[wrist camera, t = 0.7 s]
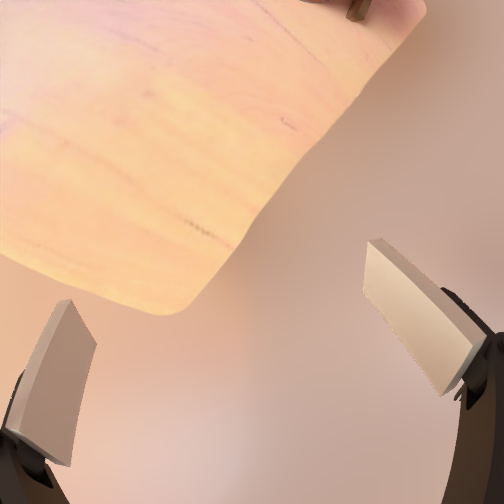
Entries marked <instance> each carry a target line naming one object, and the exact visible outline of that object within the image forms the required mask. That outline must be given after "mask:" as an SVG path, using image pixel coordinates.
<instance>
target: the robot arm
mask: <svg viewBox="0 0 504 504" xmlns="http://www.w3.org/2000/svg"><path fill="white" fill-rule="evenodd" d="M362 292H363V293H364V294H365V296H366V297H367V298H368V300H369V301H370V302H371V303H372V305H373V306H374V307H375V308H376V310H377V311H378V312H379V313H380V314H381V316H382V317H383V319H384V320H385V321H386V322H387V324H388V325H389V326H390V328H391V329H392V330H393V332H394V333H395V334H396V336H397V337H398V338H399V340H400V341H401V342H402V344H403V345H404V346H405V348H406V349H407V350H408V352H409V353H410V354H411V356H412V357H413V359H414V360H415V361H416V363H417V364H418V366H419V367H420V368H421V370H422V371H423V373H424V374H425V376H426V377H427V378H428V380H429V381H430V383H431V384H432V385H433V387H434V388H435V390H436V391H437V393H438V394H439V396H440V397H441V396H442V395H444V394H446V393H447V392H449V391H450V390H452V389H453V388H455V386H456V385H457V383H458V382H459V381H460V379H461V378H462V379H463V381H464V382H465V383H464V384H463V385H462V387H461V388H460V389H459V391H458V392H457V394H456V395H455V397H454V401H456V400H457V398H458V397H459V396H460V395H461V393H462V396H461V399H460V400H459V401H461V409H460V418H459V427H458V434H457V440H456V446H455V452H454V457H453V462H452V466H451V471H450V475H449V479H448V483H447V487H446V490H445V493H444V497H443V500H442V503H441V504H504V332H499V333H497V334H495V333H494V332H493V331H492V330H491V329H490V328H489V327H488V326H487V325H486V324H485V323H484V322H483V321H482V320H481V319H480V318H479V317H478V316H477V315H476V314H475V313H474V312H473V311H472V310H471V309H469V307H468V306H467V305H466V304H465V303H463V301H462V300H461V299H460V298H459V297H458V296H457V295H456V294H455V293H453V292H451V291H449V290H447V289H446V288H444V287H442V288H439V287H438V286H437V285H436V284H435V283H433V282H432V281H431V280H430V279H429V278H428V277H427V276H426V275H425V274H424V273H422V272H421V271H420V270H419V269H418V268H417V267H416V266H415V265H413V264H412V263H411V262H410V261H408V260H407V259H406V258H405V257H404V256H403V255H402V254H401V253H399V252H398V251H397V250H396V249H394V248H393V247H392V246H391V245H389V244H388V243H387V242H386V241H385V240H383V239H382V238H381V239H376V240H371V241H368V246H367V256H366V267H365V274H364V283H363V290H362ZM96 345H97V343H96V341H95V340H94V338H93V337H92V335H91V333H90V332H89V330H88V328H87V327H86V325H85V323H84V322H83V320H82V318H81V316H80V315H79V313H78V311H77V309H76V307H75V306H74V304H73V302H72V301H71V299H69V300H63V301H59V302H58V303H57V305H56V307H55V309H54V311H53V312H52V314H51V316H50V318H49V320H48V322H47V324H46V326H45V328H44V330H43V332H42V334H41V336H40V338H39V340H38V342H37V344H36V346H35V349H34V351H33V353H32V355H31V357H30V360H29V362H28V364H27V366H26V369H25V370H24V371H23V373H22V374H21V375H20V377H19V378H18V381H17V383H16V386H15V390H14V391H13V394H12V396H11V397H12V399H10V402H9V405H8V408H7V411H6V414H5V417H4V421H3V424H2V427H1V430H0V504H70V503H69V502H68V500H67V498H66V497H65V495H64V493H63V491H62V490H61V488H60V486H59V484H58V482H57V480H56V478H55V477H54V474H53V473H52V471H51V469H50V467H49V466H48V464H46V463H45V458H47V459H49V460H50V461H52V462H53V463H55V464H58V465H63V466H67V467H70V465H71V457H72V450H73V443H74V436H75V431H76V426H77V420H78V415H79V410H80V405H81V401H82V397H83V392H84V388H85V384H86V380H87V376H88V373H89V369H90V365H91V362H92V358H93V355H94V351H95V348H96Z"/></svg>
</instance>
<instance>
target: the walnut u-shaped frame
mask: <svg viewBox="0 0 504 504" xmlns="http://www.w3.org/2000/svg"><path fill="white" fill-rule="evenodd" d="M371 1H372V0H353V2H352V5H351V7H350V9H349V11H348V13H347V16H346V18H348V19H349V20H351V21H352V22H353V21H359V20H364V18H365V15H366V13H367V10H368V8H369V6H370V3H371Z"/></svg>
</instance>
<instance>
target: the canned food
mask: <svg viewBox="0 0 504 504" xmlns="http://www.w3.org/2000/svg"><path fill="white" fill-rule="evenodd" d="M301 1H305V2H310V3H320V2H325V1H328V0H301Z"/></svg>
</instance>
